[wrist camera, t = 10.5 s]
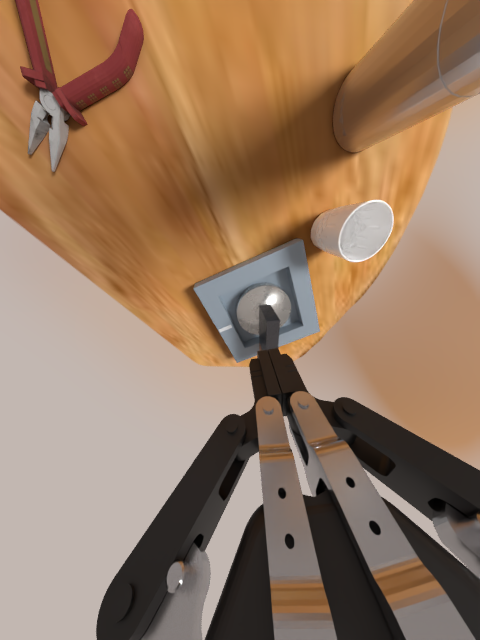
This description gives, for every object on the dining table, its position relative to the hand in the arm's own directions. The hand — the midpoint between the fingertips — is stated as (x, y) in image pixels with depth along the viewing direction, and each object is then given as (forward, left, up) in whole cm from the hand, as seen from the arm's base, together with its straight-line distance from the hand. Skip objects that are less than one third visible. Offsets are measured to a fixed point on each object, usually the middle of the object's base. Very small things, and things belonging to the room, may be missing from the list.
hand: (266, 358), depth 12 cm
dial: (-2, +12, -25) cm, 28 cm away
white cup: (-19, 0, -26) cm, 32 cm away
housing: (-2, +10, -26) cm, 28 cm away
